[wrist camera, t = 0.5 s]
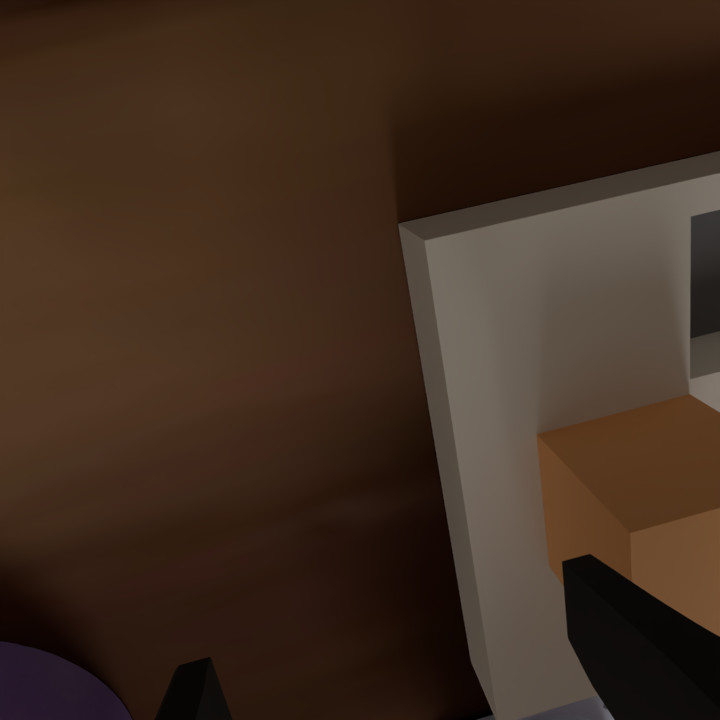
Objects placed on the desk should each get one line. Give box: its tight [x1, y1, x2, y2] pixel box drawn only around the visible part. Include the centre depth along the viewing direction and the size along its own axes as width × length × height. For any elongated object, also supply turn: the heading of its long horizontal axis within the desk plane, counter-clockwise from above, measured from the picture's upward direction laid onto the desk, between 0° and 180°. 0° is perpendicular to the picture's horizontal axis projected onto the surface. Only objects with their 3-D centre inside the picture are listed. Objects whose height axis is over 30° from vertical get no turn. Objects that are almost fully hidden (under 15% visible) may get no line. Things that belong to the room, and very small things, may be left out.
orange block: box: [537, 394, 720, 636], centre depth 18 cm, size 5×5×5 cm
